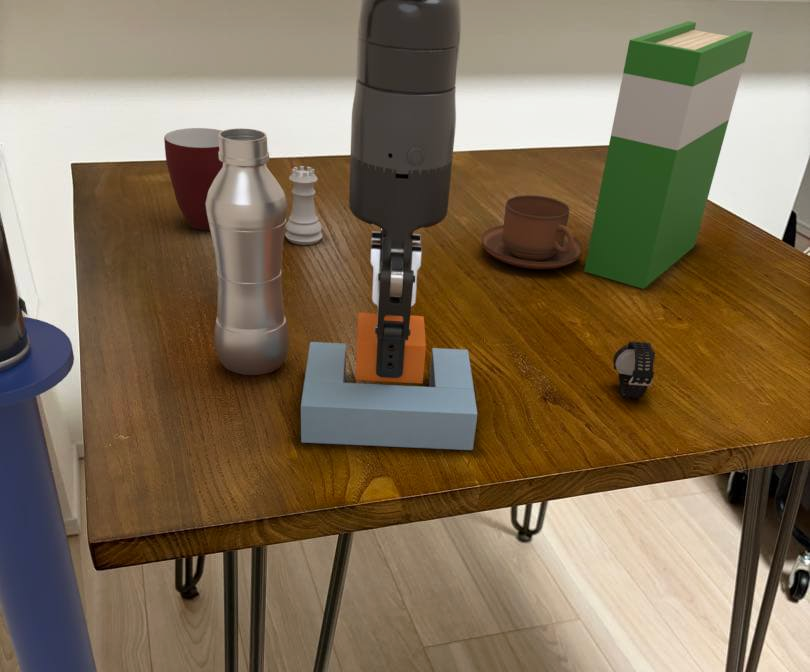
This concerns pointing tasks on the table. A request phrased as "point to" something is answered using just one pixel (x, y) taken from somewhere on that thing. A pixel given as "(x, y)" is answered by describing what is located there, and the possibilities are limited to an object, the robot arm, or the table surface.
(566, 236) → the cup and saucer
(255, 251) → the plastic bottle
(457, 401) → the light blue u-shaped block
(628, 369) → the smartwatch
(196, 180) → the mug
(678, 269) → the table surface
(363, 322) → the orange block
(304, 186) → the rook chess piece
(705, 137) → the hardback book
